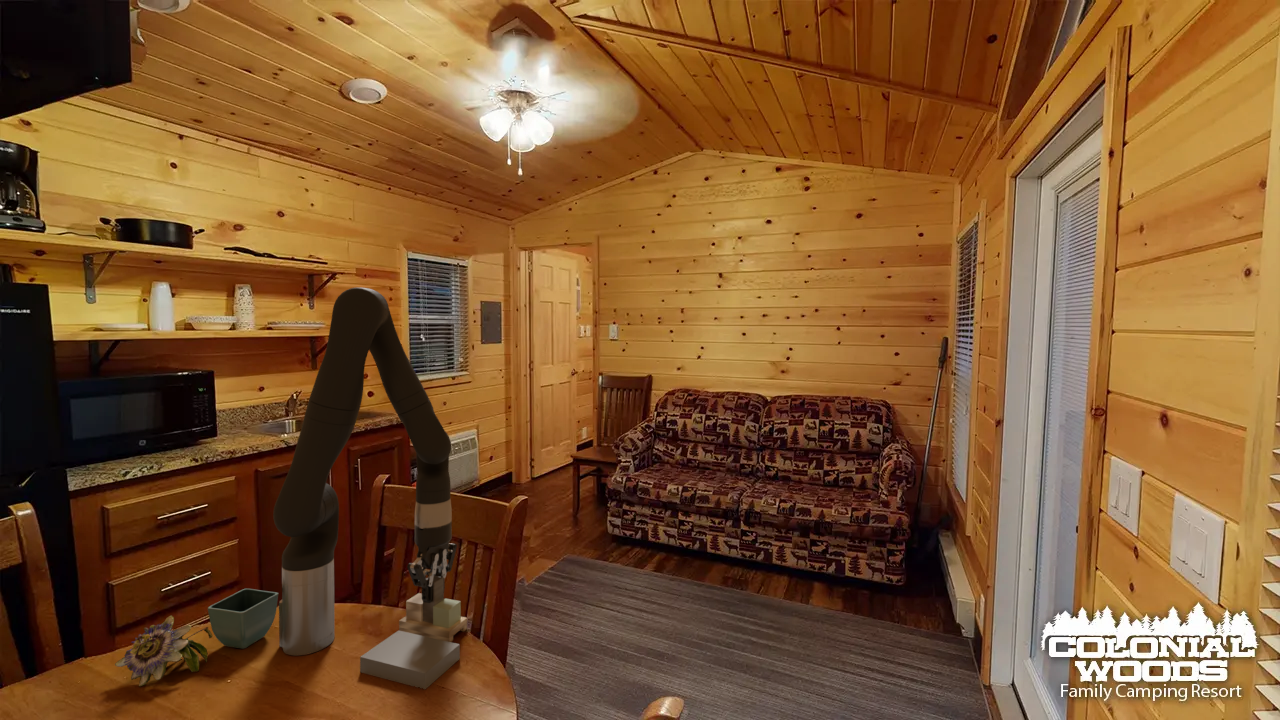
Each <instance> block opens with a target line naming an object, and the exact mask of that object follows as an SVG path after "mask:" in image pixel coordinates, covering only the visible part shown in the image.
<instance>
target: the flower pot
mask: <svg viewBox="0 0 1280 720" xmlns="http://www.w3.org/2000/svg"><path fill="white" fill-rule="evenodd" d="M279 595H280V594H279V592H276V591H268V590H260V589H254V588H244V589H241V590H239V591H237V592H235V593H233V594H231V595H229V596H227V597H225V598H222V599H221V600H220V601H218V602H215V603H213V604H211V605H210V606H208V607H207V613H208V617H209V622H210V627H211V630H212V632H213V633H212V634H214V636H215V638H216V639H217V640H218V642H220V643H221V644H222V645H223V646H224V647H231V648H237V649H241V650H242V649H246V648H249V646H252V645H253V644H255V642H257V641H260V640H261V639H262V638H264V637H265V636H266V635H267V633H268V632H269V630H270V629H271V627H272V625H273V624H274V621H275V618H276V613H277V607H278V600H279Z"/></svg>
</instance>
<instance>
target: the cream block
mask: <svg viewBox="0 0 1280 720" xmlns="http://www.w3.org/2000/svg"><path fill="white" fill-rule="evenodd" d="M405 607H406V608H405V613H406V614H405V616H406V619H408V620H412V621H417V622H423V601H422V592H421V593H420V592H418V593H417V594H415V595H413V596H412V597H411V598H409V599H407V600H406V601H405Z"/></svg>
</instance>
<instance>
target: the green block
mask: <svg viewBox="0 0 1280 720" xmlns="http://www.w3.org/2000/svg"><path fill="white" fill-rule="evenodd" d="M461 603H462V602H461V600H456V599H450V598H444V600H442V601H441V602H439V603H438V604H436V605H435V606H433V625H436V626H440V627H445V628H450V627H451V626H453V625H454V624H455V623H456V622H458V621H459V620H460V619H461V617H462V614H461V613H462V611H461V610H462V609H461V608H462V607H461V606H462V604H461Z"/></svg>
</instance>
